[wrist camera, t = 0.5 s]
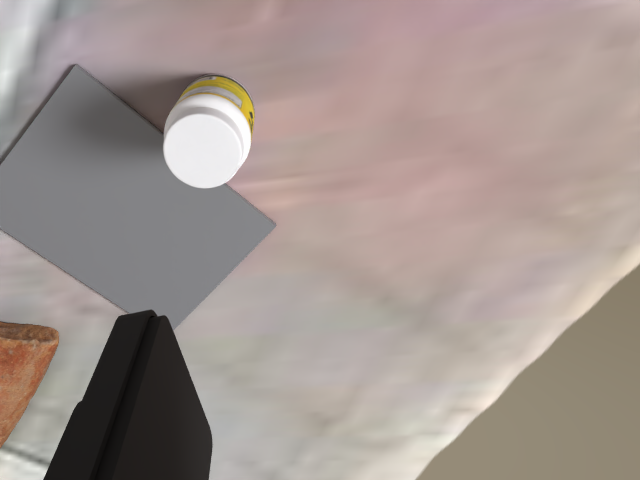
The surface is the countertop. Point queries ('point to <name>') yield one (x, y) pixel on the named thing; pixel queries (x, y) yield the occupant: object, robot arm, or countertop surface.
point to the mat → (120, 205)
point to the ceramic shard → (22, 368)
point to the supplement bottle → (209, 131)
